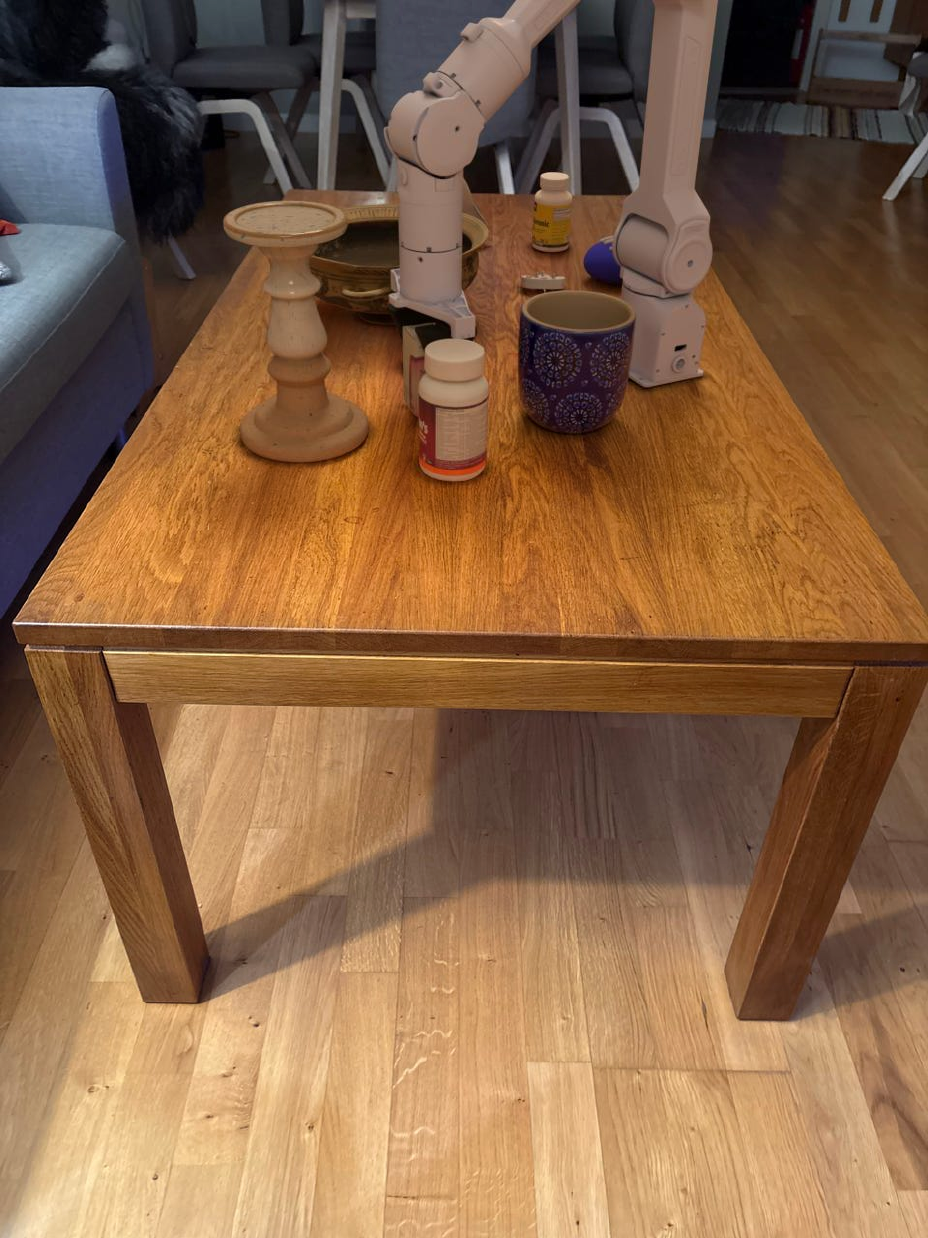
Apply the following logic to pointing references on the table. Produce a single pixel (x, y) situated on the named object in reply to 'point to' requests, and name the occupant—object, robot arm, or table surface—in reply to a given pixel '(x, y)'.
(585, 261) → the decorative object
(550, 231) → the supplement bottle
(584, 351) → the planter
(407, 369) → the small box
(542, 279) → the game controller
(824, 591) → the table surface
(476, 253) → the ceramic bowl
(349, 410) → the candle holder
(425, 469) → the pill bottle
